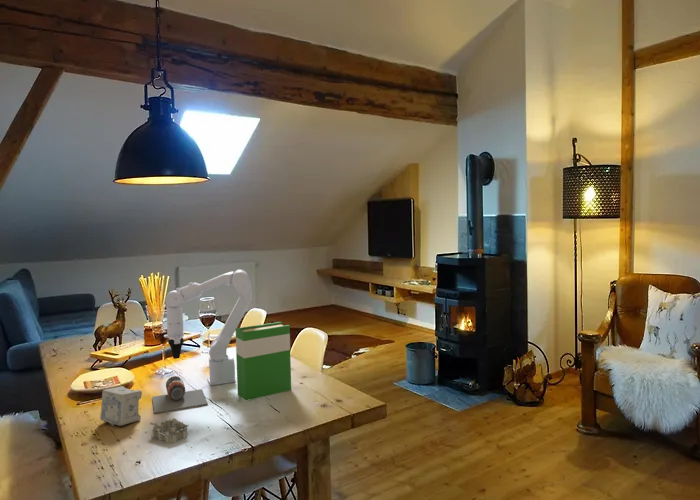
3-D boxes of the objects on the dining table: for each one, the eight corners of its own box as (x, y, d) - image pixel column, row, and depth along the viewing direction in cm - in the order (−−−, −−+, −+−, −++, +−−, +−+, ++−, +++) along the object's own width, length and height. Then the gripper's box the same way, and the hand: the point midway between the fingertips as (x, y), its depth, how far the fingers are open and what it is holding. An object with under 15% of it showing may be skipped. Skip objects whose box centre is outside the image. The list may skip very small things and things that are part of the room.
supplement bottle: (179, 393, 181) (182, 404, 171) (163, 389, 179) (165, 400, 169) (185, 377, 182) (188, 387, 171) (169, 373, 179) (171, 383, 169)
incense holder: (143, 419, 159) (142, 387, 158) (121, 429, 151) (119, 396, 150) (122, 413, 163) (121, 382, 162) (99, 423, 156) (97, 391, 155)
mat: (202, 390, 183) (201, 389, 183) (207, 405, 169) (207, 403, 169) (152, 398, 176) (152, 396, 176) (154, 414, 162) (154, 412, 162)
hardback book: (282, 384, 188) (280, 321, 186) (291, 389, 182) (289, 325, 180) (237, 394, 179) (235, 328, 177) (245, 400, 173) (243, 332, 171)
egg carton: (148, 435, 147) (148, 422, 147) (172, 427, 153) (171, 414, 153) (168, 446, 140) (167, 432, 140) (191, 436, 146) (191, 423, 146)
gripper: (162, 319, 192) (163, 354, 193) (165, 327, 179) (166, 364, 180) (181, 318, 195) (182, 352, 196) (185, 325, 182) (186, 362, 183)
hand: (176, 358), depth 188 cm, fingers closed
